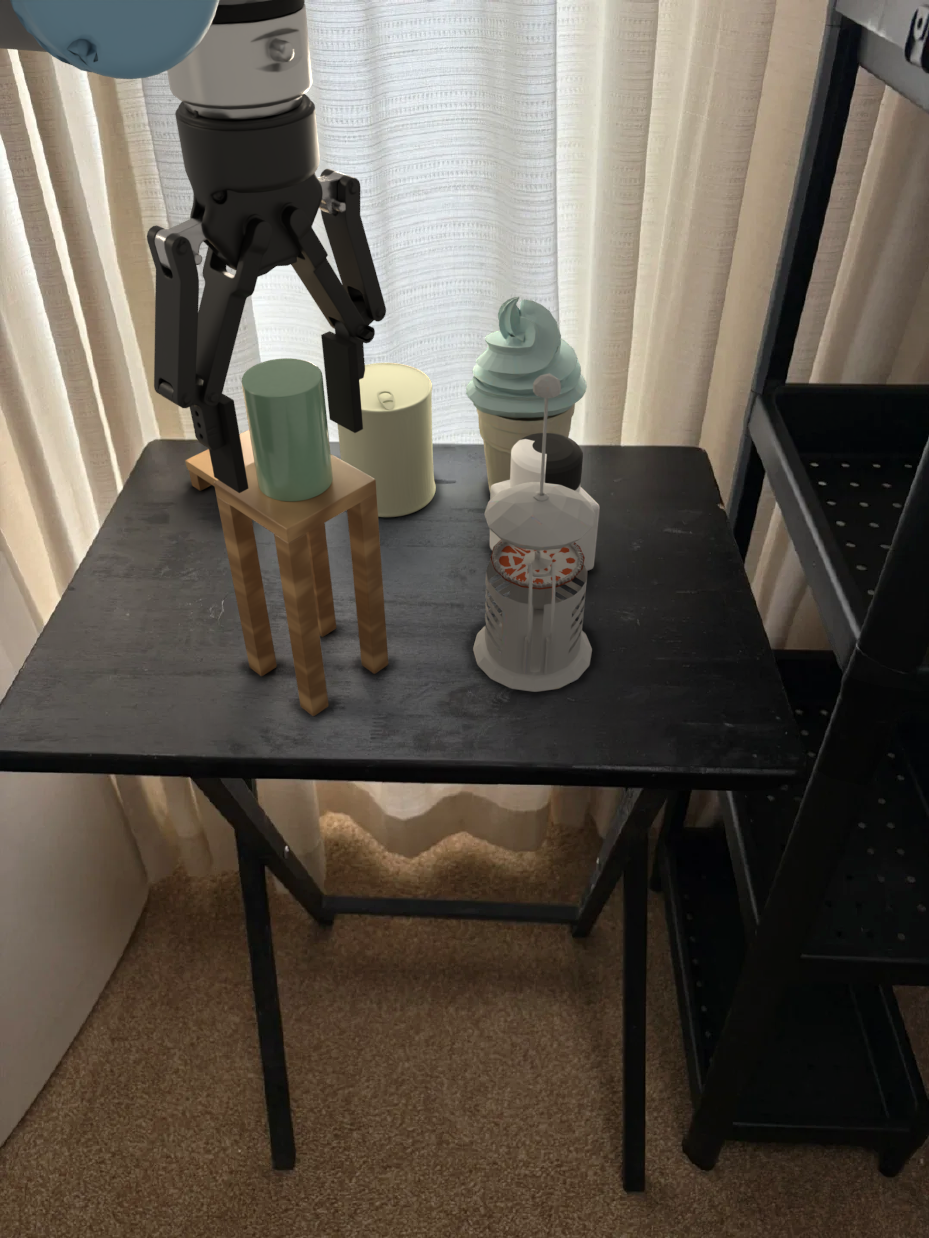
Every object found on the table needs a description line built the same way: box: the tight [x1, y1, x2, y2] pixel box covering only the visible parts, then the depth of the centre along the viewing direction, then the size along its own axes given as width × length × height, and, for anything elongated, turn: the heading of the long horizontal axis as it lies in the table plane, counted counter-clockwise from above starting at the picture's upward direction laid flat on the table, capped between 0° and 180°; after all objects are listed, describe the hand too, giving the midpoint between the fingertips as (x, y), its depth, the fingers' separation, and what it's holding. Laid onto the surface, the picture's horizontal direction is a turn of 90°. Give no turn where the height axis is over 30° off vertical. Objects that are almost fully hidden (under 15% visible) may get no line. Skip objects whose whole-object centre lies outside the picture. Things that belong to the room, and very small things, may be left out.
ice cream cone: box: [465, 296, 588, 492], centre depth 97 cm, size 10×11×20 cm
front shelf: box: [213, 453, 389, 717], centre depth 79 cm, size 8×8×18 cm
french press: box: [472, 373, 595, 693], centre depth 77 cm, size 10×12×25 cm
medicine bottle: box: [489, 433, 601, 572], centre depth 91 cm, size 7×7×12 cm
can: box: [336, 362, 437, 518], centre depth 99 cm, size 9×9×12 cm
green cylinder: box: [241, 357, 333, 502], centre depth 70 cm, size 5×5×8 cm
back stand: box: [184, 429, 254, 492], centre depth 103 cm, size 8×8×3 cm
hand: (291, 452), depth 71 cm, fingers open, 9 cm apart
